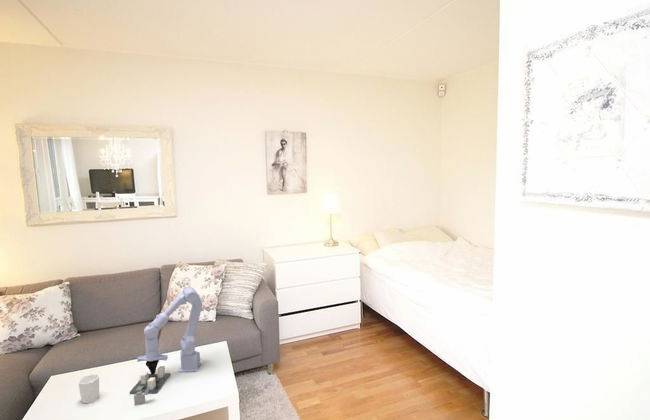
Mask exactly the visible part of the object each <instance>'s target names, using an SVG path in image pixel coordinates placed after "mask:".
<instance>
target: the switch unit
mask: <svg viewBox="0 0 650 420" xmlns="http://www.w3.org/2000/svg"><path fill="white" fill-rule="evenodd" d="M148 376H149V379H150V378H153V377H155V380H156V386H155V388H154V389H153V390H149V391H148V394H147V395H149V394H150V395H151V394H158V392H159V391H161V389H162V387H164V385H165V383H166V382H167V380H168V379H169V378H170V377H171V373H170V372H165V375H164V376H163V377H161V378H158V373H155V374H154V375H151V373H148ZM147 386H148V384H147V383H146V384H141V379H139V380H138V382H137V383H136V384H135V385H134V386H133V387H132V389H130V391H129V395H135V394H136V393H137V392H141V391H142V393H145V390H146V388H147Z"/></svg>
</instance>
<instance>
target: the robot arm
mask: <svg viewBox="0 0 650 420" xmlns="http://www.w3.org/2000/svg"><path fill="white" fill-rule="evenodd" d="M188 303H189V304H190V305H191V310H190V313H189V317H188V321H187V325H186V329H185V334H183V336H182V338H181V340H180V341H179V347H180V349H181V351H180V368H179V369H178V373H184V372H186V373H187V372H196V371H197V370H198V369H199V368H200V366H201V365H202V364H201V353H200V352H199V351H198V350H197V351H196V346H195V345H196V344H195V342H196V338H195V337H196V332H197V327H198V324H199V320H200V316H201V311H202V307H203V302H202V299H201V296H200V295H199V293H198V292H197V291H196V290H195V289H194V287H191V286H188V287H187V286H186V287H185V288H184V289H183V290H182V291H181V292H179V294H178V295H177V296H176V298H175V299H174V300H173V301H172V303H171V304H169V306H168V307H167V308H166V310H164V312H160V313H158V314H157V315H156V316H155V318H154V319H153V321H151V322H149V323H148V325H146V326H145V327H144V330H143V334H144V340H145V341H144V344H145V345H144V347H145V355H139V356H138V357H137V358H136V359H137V360H136V361H137V362H138V363H140V362H145V361H146V362H145V366H146V367H147V368H148V369H149V373H150V374H151V375H154V374H157V366H158V364H159V363H160V361H167V360H168V358H169V357H168V354H160V353H159V341H158V335H159V331H161V330H162V328H163V327H164V326H165V325H166V324H167V323H168V322H169V321H170V316H171V315H172V314H173V313H174V312H176V310H177V309H178V308H179V307H180V306H182V305H188Z"/></svg>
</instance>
